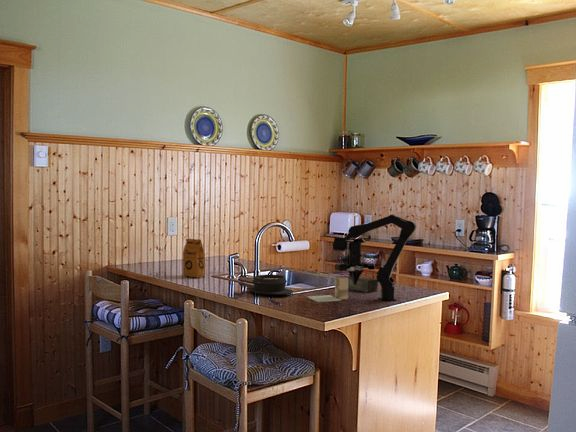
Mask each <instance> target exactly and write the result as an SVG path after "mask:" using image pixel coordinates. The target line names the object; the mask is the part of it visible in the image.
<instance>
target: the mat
mask: <svg viewBox="0 0 576 432" xmlns="http://www.w3.org/2000/svg"><path fill="white" fill-rule="evenodd" d="M306 298H307V299H310V300H312V301H314V302H316V303H326V302H327V303H329V302H342V299H338V298H336V297H335V296H333V295H330V294H328V295H327V294H326V295H312V296H307V297H306Z"/></svg>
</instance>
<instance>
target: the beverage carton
mask: <svg viewBox="0 0 576 432" xmlns="http://www.w3.org/2000/svg"><path fill="white" fill-rule="evenodd" d="M344 276H345V277H348V290H350V291H357V292H364V293H374V292H378V285H379V282H378V281H377V278H376V279H375V278H372V277H370V278H368V277H361V276H360V277H359V279H358V281H357V283H356V285H354V284H353V282H352V279H351V276H350V275H344Z"/></svg>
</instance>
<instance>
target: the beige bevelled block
mask: <svg viewBox="0 0 576 432" xmlns="http://www.w3.org/2000/svg"><path fill="white" fill-rule="evenodd" d="M345 276H346V275H335V276H334V297H336V298H338V299H340V300H349V289H348V277H345Z"/></svg>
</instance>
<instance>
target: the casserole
mask: <svg viewBox="0 0 576 432" xmlns="http://www.w3.org/2000/svg"><path fill="white" fill-rule="evenodd" d="M252 283H253V286H248V287H246V288H245V289H246V290H247V291H251V292H252V293H255V294H257V295H259V296H269V297H272V296H273V297H274V296H279V295H280V296H281V295H289V294H292V293H294V290H293V289H290V288H287V287H286V284H287V283H288V282H287V279H286V277H285V276H284V275H281V274H280V275H279V274H259V275H255V276H254V278H253V279H252Z"/></svg>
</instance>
